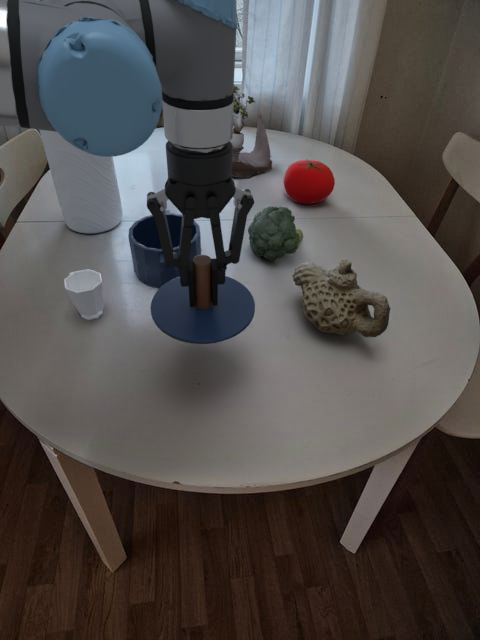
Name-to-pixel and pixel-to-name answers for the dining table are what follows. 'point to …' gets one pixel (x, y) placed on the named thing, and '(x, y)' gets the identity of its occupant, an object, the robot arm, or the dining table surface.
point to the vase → (83, 185)
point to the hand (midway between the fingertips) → (203, 300)
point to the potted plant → (243, 161)
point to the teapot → (340, 300)
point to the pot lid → (202, 307)
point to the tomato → (308, 181)
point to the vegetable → (274, 233)
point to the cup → (86, 292)
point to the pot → (158, 249)
